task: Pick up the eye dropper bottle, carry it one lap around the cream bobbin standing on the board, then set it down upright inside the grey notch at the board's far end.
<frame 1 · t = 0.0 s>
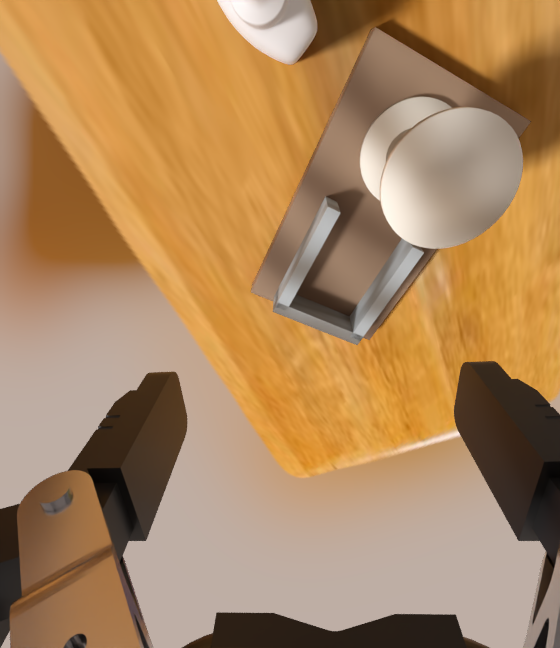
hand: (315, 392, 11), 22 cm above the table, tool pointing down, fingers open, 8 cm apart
eye dropper bottle: (271, 16, 24), on the table
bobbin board: (368, 212, 30), on the table
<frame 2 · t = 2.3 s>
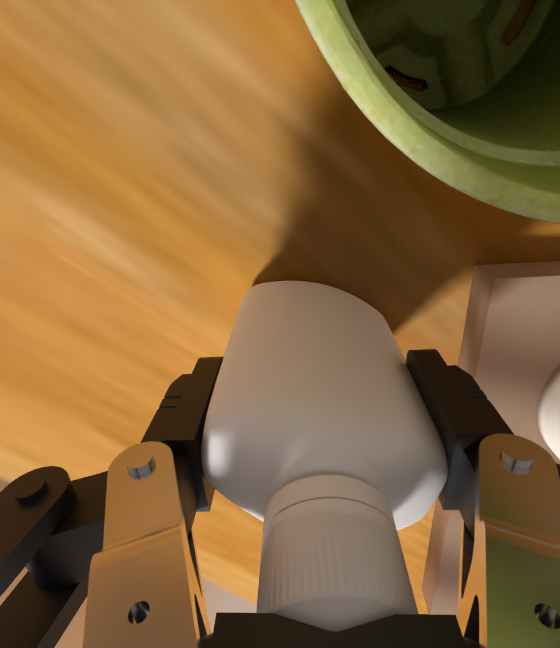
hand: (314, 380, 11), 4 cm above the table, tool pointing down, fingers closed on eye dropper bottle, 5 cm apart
eye dropper bottle: (310, 319, 15), on the table, touching gripper
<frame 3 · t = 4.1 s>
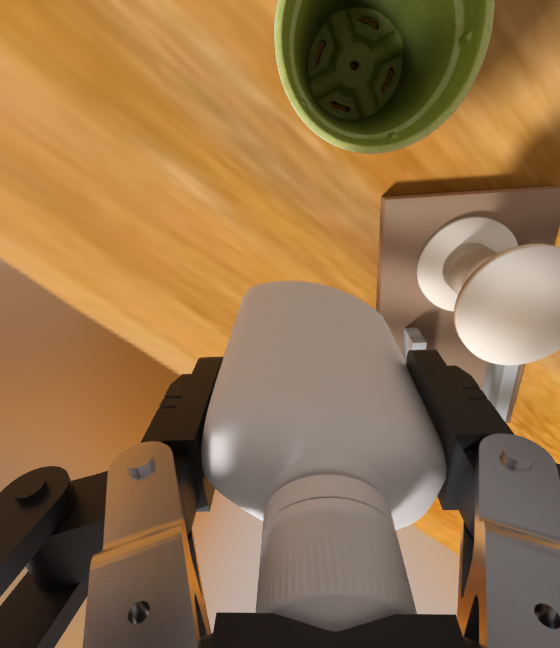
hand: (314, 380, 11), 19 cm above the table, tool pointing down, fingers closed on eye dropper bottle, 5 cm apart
plant pot: (354, 68, 24), on the table
eye dropper bottle: (310, 319, 15), point 15 cm above the table, touching gripper
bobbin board: (449, 317, 31), on the table
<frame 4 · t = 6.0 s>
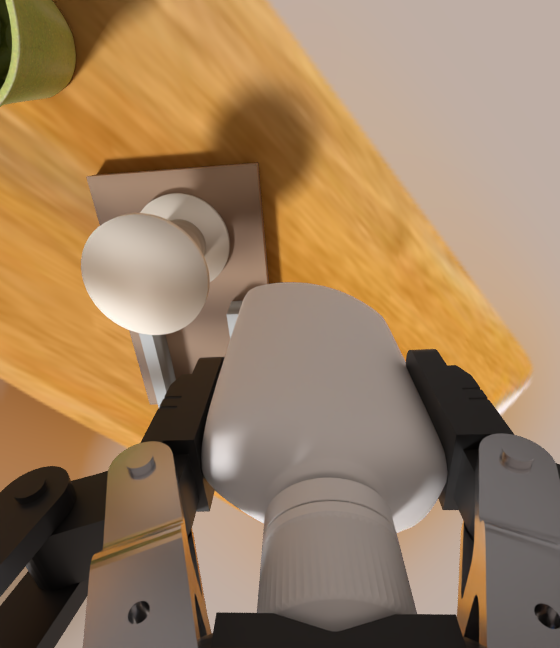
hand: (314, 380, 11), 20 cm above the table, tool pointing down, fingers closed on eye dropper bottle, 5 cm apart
plant pot: (33, 45, 25), on the table
eye dropper bottle: (310, 321, 15), point 16 cm above the table, touching gripper
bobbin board: (199, 296, 32), on the table
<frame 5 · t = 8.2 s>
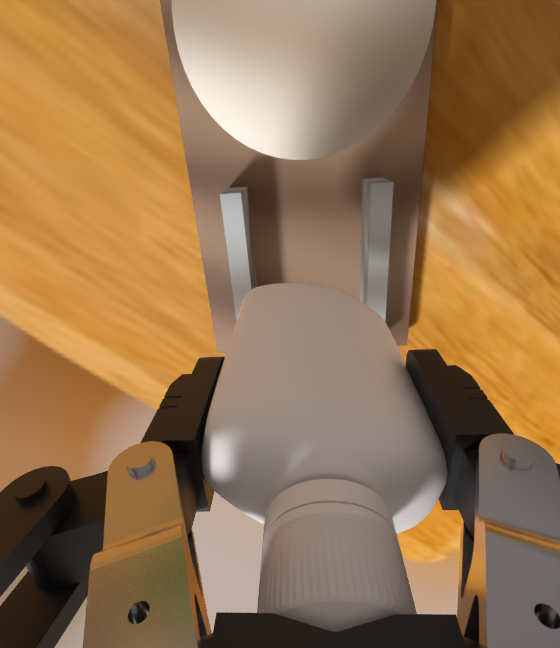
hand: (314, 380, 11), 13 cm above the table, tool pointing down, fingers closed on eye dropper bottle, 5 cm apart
eye dropper bottle: (310, 321, 15), point 9 cm above the table, touching gripper
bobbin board: (303, 179, 21), on the table
when the fingers open (7 cm above the table, at t = 9.8 s): eye dropper bottle drops 1 cm, resting on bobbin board.
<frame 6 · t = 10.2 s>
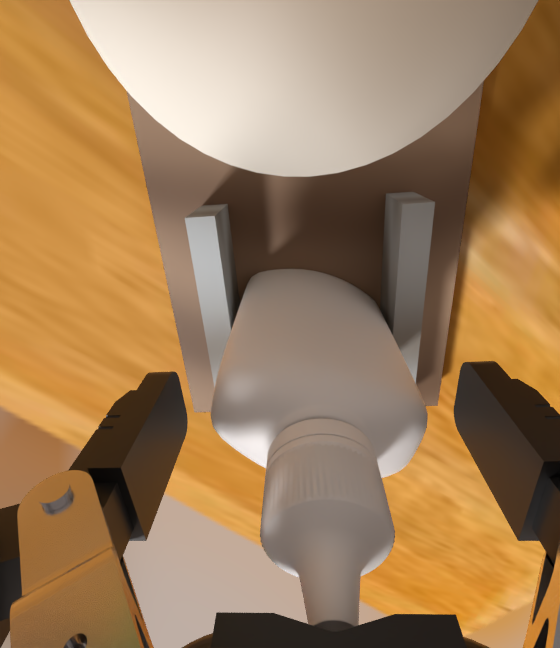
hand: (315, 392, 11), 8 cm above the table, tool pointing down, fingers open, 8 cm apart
eye dropper bottle: (309, 305, 16), point 1 cm above the table, touching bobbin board
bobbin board: (304, 193, 16), on the table
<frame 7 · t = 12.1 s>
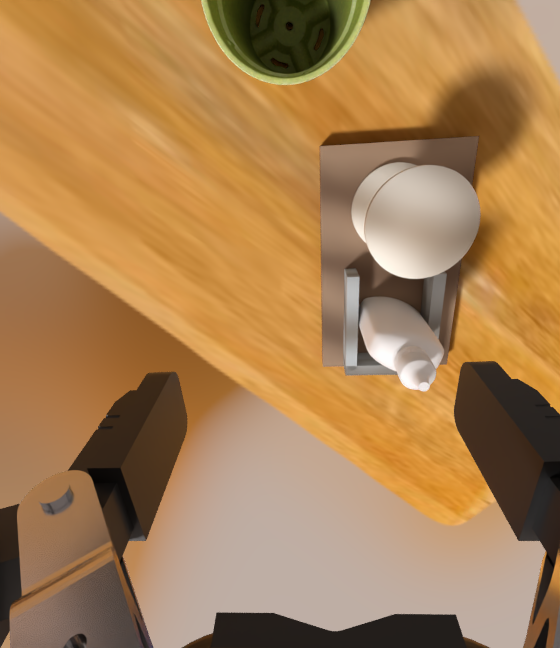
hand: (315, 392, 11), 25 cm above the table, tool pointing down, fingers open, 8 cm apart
plant pot: (291, 29, 28), on the table
eye dropper bottle: (386, 313, 35), point 1 cm above the table, touching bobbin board
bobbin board: (387, 262, 35), on the table
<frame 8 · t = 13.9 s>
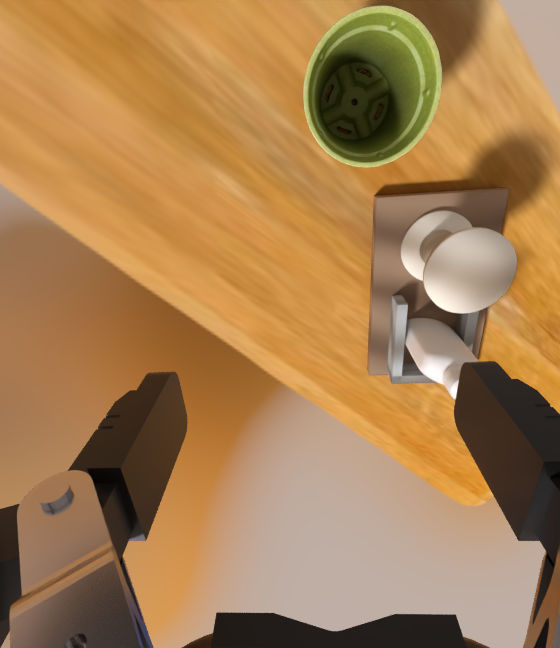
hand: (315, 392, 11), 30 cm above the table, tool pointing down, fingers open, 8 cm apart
plant pot: (354, 103, 34), on the table
eye dropper bottle: (425, 331, 42), point 1 cm above the table, touching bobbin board
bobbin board: (426, 288, 41), on the table
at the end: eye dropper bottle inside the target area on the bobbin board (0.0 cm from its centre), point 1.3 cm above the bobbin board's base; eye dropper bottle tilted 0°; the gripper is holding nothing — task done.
